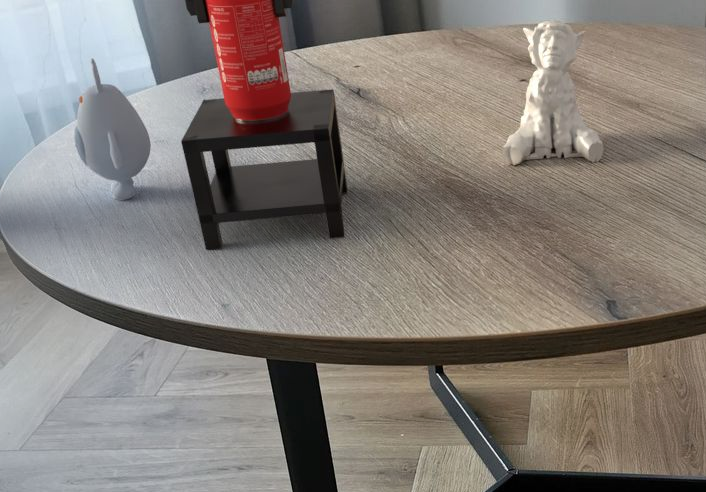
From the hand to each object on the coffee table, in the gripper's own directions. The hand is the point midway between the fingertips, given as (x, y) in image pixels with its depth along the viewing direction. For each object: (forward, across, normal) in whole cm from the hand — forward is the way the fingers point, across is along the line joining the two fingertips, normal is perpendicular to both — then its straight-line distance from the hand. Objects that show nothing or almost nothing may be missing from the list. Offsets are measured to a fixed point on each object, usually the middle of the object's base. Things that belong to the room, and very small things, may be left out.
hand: (243, 17), depth 73 cm
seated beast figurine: (+17, -25, -11) cm, 32 cm away
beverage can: (+8, 0, 0) cm, 8 cm away
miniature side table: (+16, 0, 0) cm, 16 cm away
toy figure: (+17, +15, -9) cm, 24 cm away
